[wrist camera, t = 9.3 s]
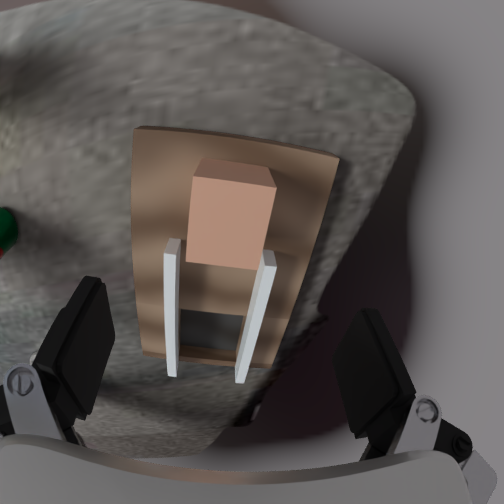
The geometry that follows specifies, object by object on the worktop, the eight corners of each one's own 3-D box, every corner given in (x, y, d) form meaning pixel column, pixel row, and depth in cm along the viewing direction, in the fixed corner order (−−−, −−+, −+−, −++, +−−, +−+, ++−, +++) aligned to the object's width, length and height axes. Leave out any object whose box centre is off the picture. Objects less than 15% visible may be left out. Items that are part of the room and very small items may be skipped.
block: (253, 235, 24) (258, 270, 20) (194, 228, 23) (185, 261, 19) (267, 167, 21) (276, 188, 17) (202, 157, 20) (193, 176, 16)
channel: (243, 366, 34) (243, 383, 31) (170, 359, 32) (167, 375, 30) (273, 250, 25) (277, 266, 23) (169, 237, 24) (163, 253, 22)
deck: (269, 356, 36) (270, 368, 34) (146, 343, 34) (143, 355, 32) (331, 153, 23) (339, 158, 21) (141, 125, 20) (133, 128, 19)
